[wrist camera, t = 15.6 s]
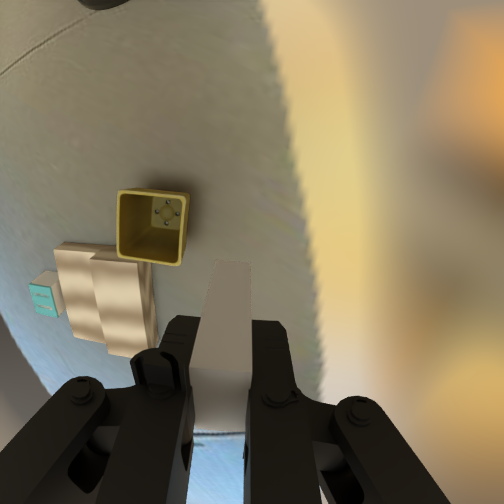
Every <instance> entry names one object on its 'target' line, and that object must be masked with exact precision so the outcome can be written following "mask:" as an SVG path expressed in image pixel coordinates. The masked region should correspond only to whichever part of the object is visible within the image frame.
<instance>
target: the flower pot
mask: <svg viewBox="0 0 504 504" xmlns="http://www.w3.org/2000/svg"><path fill="white" fill-rule="evenodd" d="M167 200H169V201H170V203H169V204H167V202H166V201H167ZM189 202H190V195H189V194H188V193H183V192H172V191H162V190H153V189H144V188H132V189H123V190H119V191H118V194H117V255H118V257H120V258H124V259H131V260H138V261H145V262H151V263H158V264H164V265H170V266H180V265H181V262H182V258H183V255H184V251H185V247H186V233H187V221H188V211H189ZM156 210H159V213H156V212H155V211H156ZM176 212H179V213H180V215H179V216H177V215H176ZM166 221H167V222H168V225H166V224H165V222H166Z"/></svg>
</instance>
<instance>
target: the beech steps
mask: <svg viewBox="0 0 504 504" xmlns="http://www.w3.org/2000/svg"><path fill="white" fill-rule="evenodd" d="M54 254H55V260H56V265H57V271H58V276H59V280H60V285H61V290H62V294H63V298H64V302H65V306H66V310H67V314H68V317H69V321H70V324H71V328H72V331H73V334H74V337H77V338H81V339H86V340H90V341H95V342H100V343H105V344H106V345H107V349H108V353H109V354H114V355H119V356H125V357H130V358H133V357H134V355H136V354H137V353H139V352H141V351H142V350H146V349H150V348H156V345H157V343H158V340H159V338H158V330H157V322H156V314H155V304H154V294H153V283H152V270H151V262H145V261H138V260H131V259H124V258H120V257H118V255H117V246H111V245H97V244H82V243H68V242H64V243H62V244H61V245H59V246H58V247H56V248H55V249H54Z"/></svg>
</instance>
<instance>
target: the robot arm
mask: <svg viewBox="0 0 504 504" xmlns="http://www.w3.org/2000/svg"><path fill="white" fill-rule="evenodd" d="M78 1H79V2H80V3H81V4H82V5H84V6H85V7H87V8H89V9H93V10H103V9H108V8H112V7H115V6H118V5H120V4H122V3H124V2H126V1H128V0H78ZM130 365H131V369H132V373H133V376H134V380H135V384H136V385H134V386H131V387H126V388H115V389H104V387H103V385H102V383H101V382H99V381H98V380H97V379H95V378H92V377H89V376H79V377H76V378H72V379H70V380H69V381H67V382H66V383H65V384H63V386H62V387H61V388H60V389H59V390H58V391H57V392H56V393H55V394H54V395H53V396H52V397H51V398H50V399H49V400H48V401H47V402H46V403H45V404H44V406H42V407H41V408H40V409H39V411H38V412H37V413H36V414H35V415H34V416H33V417H32V418H31V419H30V420H29V421H28V422H27V424H25V426H24V427H23V428H22V429H21V430H20V431H19V432H18V433H17V434H16V435H15V436H14V438H13V439H12V440H11V441H10V442H9V443H8V444H7V445H6V446H5V448H4V449H3V450H2V451H1V452H0V504H186V499H187V491H188V483H189V475H190V468H191V460H192V453H193V446H194V441H193V429H194V423H195V428H197V429H207V430H218V431H232V432H245V445H244V453H243V459H244V504H322V500H321V493H320V487H321V489H322V491H323V493H324V495H325V497H326V499H327V501H328V504H451V503H450V502H449V500H448V499H447V498H446V496H445V495H444V493H443V492H442V491H441V489H440V488H439V486H438V485H437V484H436V482H435V481H434V479H433V478H432V477H431V475H430V474H429V472H428V471H427V470H426V468H425V467H424V465H423V464H422V463H421V461H420V460H419V459H418V457H417V456H416V455H415V453H414V452H413V450H412V449H411V447H410V446H409V445H408V443H407V442H406V441H405V439H404V438H403V437H402V435H401V434H400V432H399V431H398V430H397V428H396V427H395V426H394V424H393V423H392V421H391V420H390V419H389V417H388V416H387V415H386V414H385V412H384V411H383V409H382V408H381V407H380V406H379V405H378V404H377V403H376V402H375V401H373V400H371V399H369V398H367V397H362V396H351V397H347V398H345V399H343V400H341V401H340V402H339V403H338V404H337V406H336V405H331V404H326V403H321V402H318V401H314V400H312V399H310V398H308V397H306V396H305V395H304V394H303V393H302V392H301V390H300V389H299V388H297V385H296V383H295V378H294V372H293V366H292V361H291V355H290V351H289V344H288V338H287V333H286V329H285V328H284V327H283V326H282V325H281V323H280V322H279V321H267V320H252V319H251V262H240V261H225V260H216V262H215V265H214V269H213V273H212V277H211V280H210V284H209V288H208V292H207V296H206V300H205V304H204V307H203V311H202V315H201V317H193V316H183V315H177V316H176V317H175V318H173V319H172V320H171V321H170V322H169V323H168V325H167V328H166V330H165V334H164V335H163V338H162V340H161V343H160V345H159V348H150V349H146V350H142V351H141V352H139V353H137V354H136V355H134V357H133V358H132V359H131V360H130ZM319 485H320V487H319Z"/></svg>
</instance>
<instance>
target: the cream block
mask: <svg viewBox="0 0 504 504" xmlns="http://www.w3.org/2000/svg"><path fill="white" fill-rule="evenodd" d="M29 288H30V292H31V295H32V299H33V302H34V306H35V309H36V312H37V313H39V314H43V315H48V316H52V317H57V318H58V317H59V316H60V314H61V313H62V312H63V311H64V310H65V309H66V306H65V302H64V298H63V294H62V290H61V285H60V280H59V276H58V272H52V271H44V272H43V273H42V274H41V275H39V276H38V277H37V278H36V279H34V280H33V281H32V282H31V283H30V284H29Z"/></svg>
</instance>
